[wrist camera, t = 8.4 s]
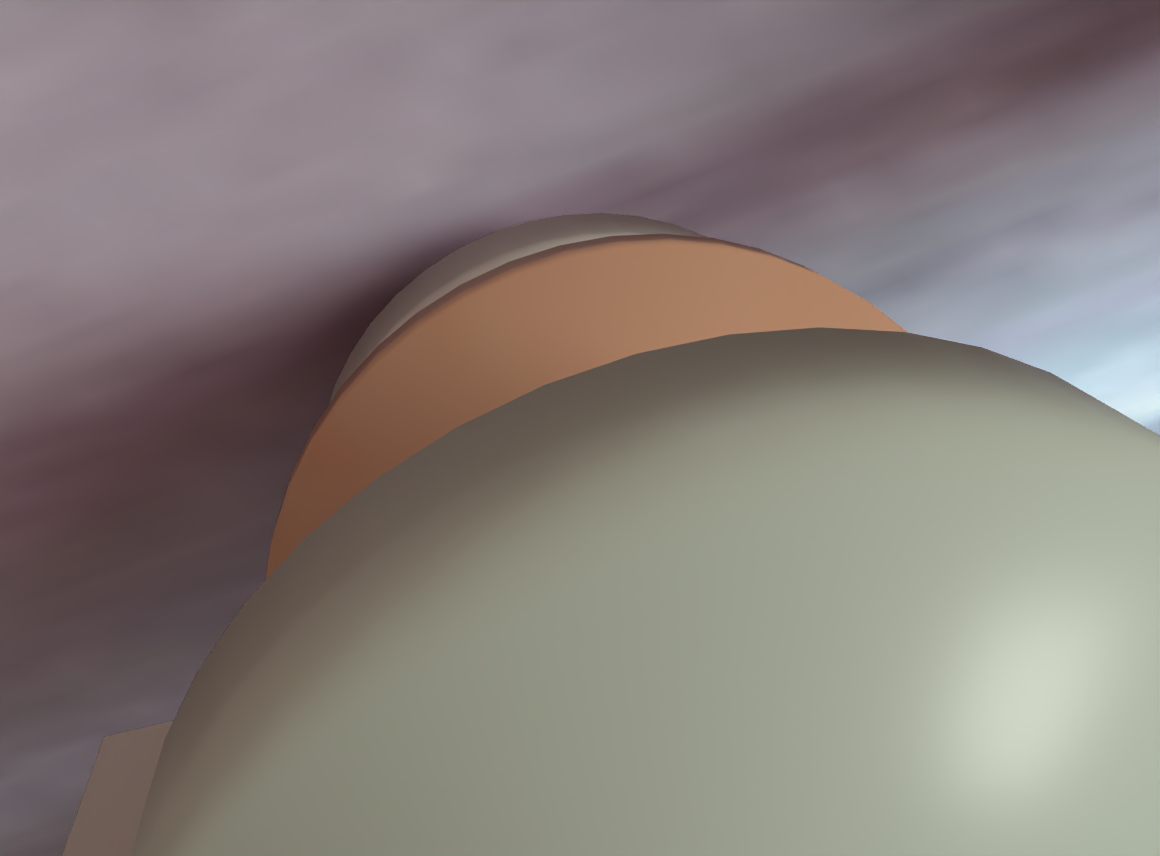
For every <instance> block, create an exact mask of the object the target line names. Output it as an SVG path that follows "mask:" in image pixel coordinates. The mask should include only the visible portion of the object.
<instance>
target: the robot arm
mask: <svg viewBox="0 0 1160 856" xmlns="http://www.w3.org/2000/svg"><path fill="white" fill-rule="evenodd" d="M173 721H174V720H173ZM173 721H169V722H165V723H160V724H156V725H152V726H147V727H143V728H139V729H134V730H130V731H126V732H122V733H117V734H113V735H109V736H104V738H103V741H102V743H101V746H100V749H99V752H98V755H97V758H96V761H95V764H94V766H93V769H92V772H91V775H90V778H89V781H88V784H87V786H86V789H85V792H84V795H83V798H82V801H81V804H80V806H79V809H78V812H77V815H76V818H75V821H74V824H73V827H72V829H71V832H70V835H69V838H68V841H67V844H66V847H65V849H64V852H63V855H62V856H131V855H132V851H133V848H134V844H135V840H136V836H137V833H138V829H139V825H140V822H141V818H142V814H143V810H144V807H145V803H146V800H147V797H148V793H149V790H150V787H151V783H152V780H153V776H154V773H155V770H156V766H157V763H158V760H159V756H160V753H161V749H162V746H163V743H164V739H165V737H166V735H167V733H168V731H169V729H170V727H171V725H172V723H173Z"/></svg>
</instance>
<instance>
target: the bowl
mask: <svg viewBox="0 0 1160 856" xmlns="http://www.w3.org/2000/svg"><path fill="white" fill-rule="evenodd" d="M817 327H823V328H841V329H859V330H877V331H895V332H906V331H905V330H904V329H903V328H901V327H900V326H899V325H898V324H896V323H895V322H894V321H893V320H891V319H890V318H889V317H887V316H886V315H885V314H884V313H882V312H881V311H880V310H879V309H877V308H876V307H875V306H874V305H872V304H871V303H870V302H868V301H866V300H864V299H863V298H861V297H859V296H857V295H856V294H854V293H852V292H850V291H849V290H847V289H845V288H843V287H841V286H840V285H838V284H836V283H834V282H833V281H831V280H829V279H827V278H825V277H824V276H822V275H820V274H818V273H816V272H814V271H812V270H810V269H808V268H806V267H805V266H802V265H800V264H797V263H795V262H792V261H790V260H787V259H784V258H782V257H779V256H777V255H774V254H771V253H769V252H766V251H764V250H761V249H758V248H754V247H749V246H745V245H741V244H736V243H732V242H728V241H723V240H719V239H715V238H708V237H706V236H703V235H700V234H698V233H695V232H693V231H690V230H687V229H685V228H682V227H680V226H677V225H674V224H670V223H666V222H661V221H657V220H653V219H648V218H644V217H640V216H629V215H618V214H607V213H595V214H572V215H562V216H556V217H550V218H545V219H539V220H534V221H528V222H525V223H522V224H519V225H516V226H513V227H509V228H506V229H503V230H500V231H497V232H494V233H491V234H489V235H487V236H485V237H483V238H480V239H478V240H476V241H474V242H472V243H470V244H468V245H466V246H464V247H461V248H459V249H457V250H456V251H454V252H452V253H451V254H449V255H448V256H446V257H445V258H443V259H442V260H440V261H439V262H437V263H435V264H434V265H432V266H431V267H429V268H428V269H426V270H425V271H424V272H422V273H421V274H420V275H419V276H418V277H416V278H415V279H414V280H413V281H412V282H411V283H409V284H408V285H407V286H406V287H405V288H404V289H402V290H401V291H400V292H399V293H398V294H397V295H396V296H395V297H394V298H393V299H392V300H391V301H390V302H389V303H388V305H387V306H386V307H385V308H384V309H383V310H382V311H381V312H380V313H379V315H378V316H377V317H376V318H375V319H374V320H373V321H372V322H371V324H370V325H369V327H368V328H367V330H366V331H365V333H364V334H363V336H362V337H361V339H360V340H359V342H358V343H357V344H356V346H355V347H354V349H353V350H352V352H351V353H350V355H349V358H348V360H347V362H346V364H345V366H344V368H343V370H342V372H341V374H340V376H339V378H338V380H337V382H336V384H335V386H334V390H333V393H332V396H331V399H330V402H329V405H328V407H327V408H326V410H325V411H324V413H323V414H322V415H321V417H320V418H319V420H318V421H317V423H316V424H315V426H314V428H313V430H312V432H311V434H310V436H309V438H308V440H307V442H306V444H305V446H304V448H303V450H302V452H301V454H300V456H299V458H298V460H297V462H296V464H295V467H294V469H293V471H292V474H291V477H290V481H289V484H288V487H287V490H286V493H285V496H284V499H283V502H282V506H281V509H280V512H279V515H278V519H277V523H276V526H275V530H274V534H273V538H272V542H271V547H270V553H269V559H268V565H267V571H266V578H265V580H266V579H267V578H268V577H269V576H270V575H271V574H272V573H273V572H274V571H275V570H276V569H277V567H278V566H279V565H280V564H281V563H282V562H283V561H284V560H285V559H286V558H287V557H288V556H289V554H290V553H291V552H292V551H293V550H294V549H295V548H296V547H297V546H298V545H299V544H300V543H301V542H302V540H303V539H304V538H305V537H306V536H308V535H309V534H310V533H311V532H313V531H314V530H315V529H316V528H317V527H319V526H320V525H321V524H322V523H323V522H325V521H326V520H327V519H328V518H329V517H331V516H332V515H333V514H334V513H335V512H337V511H338V510H339V509H340V508H341V507H343V506H344V505H345V504H346V503H347V502H349V501H350V500H351V499H352V498H353V497H355V496H356V495H357V494H358V493H359V492H361V491H362V490H363V489H364V488H365V487H367V486H368V485H369V484H370V483H372V482H373V481H374V480H375V479H376V478H378V477H379V476H381V475H383V474H384V473H386V472H387V471H389V470H390V469H392V468H394V467H395V466H397V465H398V464H400V463H401V462H403V461H404V460H406V459H408V458H409V457H411V456H412V455H414V454H415V453H417V452H419V451H420V450H422V449H423V448H425V447H426V446H428V445H430V444H431V443H433V442H434V441H436V440H437V439H439V438H441V437H442V436H444V435H445V434H447V433H448V432H450V431H451V430H453V429H455V428H456V427H458V426H460V425H462V424H464V423H466V422H468V421H470V420H472V419H475V418H477V417H479V416H481V415H483V414H485V413H487V412H489V411H491V410H493V409H495V408H498V407H500V406H502V405H504V404H506V403H508V402H510V401H512V400H514V399H516V398H518V397H520V396H523V395H525V394H527V393H529V392H531V391H533V390H535V389H537V388H539V387H541V386H543V385H546V384H549V383H552V382H555V381H557V380H560V379H563V378H566V377H569V376H572V375H575V374H578V373H581V372H584V371H587V370H590V369H593V368H596V367H599V366H602V365H605V364H608V363H611V362H614V361H616V360H619V359H622V358H625V357H628V356H631V355H634V354H637V353H642V352H647V351H652V350H657V349H661V348H666V347H671V346H676V345H681V344H685V343H690V342H695V341H700V340H705V339H709V338H714V337H719V336H724V335H729V334H741V333H753V332H766V331H779V330H792V329H804V328H817Z"/></svg>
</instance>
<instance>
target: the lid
mask: <svg viewBox="0 0 1160 856" xmlns="http://www.w3.org/2000/svg"><path fill="white" fill-rule="evenodd" d="M131 856H1160V435H1158V434H1156V433H1154V432H1153V431H1151V430H1149V429H1147V428H1146V427H1144V426H1142V425H1141V424H1139V423H1137V422H1135V421H1134V420H1132V419H1130V418H1128V417H1127V416H1125V415H1123V414H1122V413H1120V412H1118V411H1116V410H1115V409H1113V408H1111V407H1109V406H1108V405H1106V404H1104V403H1102V402H1101V401H1099V400H1097V399H1096V398H1094V397H1092V396H1090V395H1089V394H1087V393H1085V392H1083V391H1082V390H1080V389H1078V388H1076V387H1075V386H1073V385H1071V384H1069V383H1068V382H1066V381H1064V380H1062V379H1061V378H1059V377H1057V376H1055V375H1054V374H1052V373H1050V372H1047V371H1044V370H1042V369H1039V368H1036V367H1033V366H1031V365H1028V364H1025V363H1023V362H1020V361H1017V360H1014V359H1012V358H1009V357H1006V356H1004V355H1001V354H998V353H995V352H993V351H990V350H987V349H985V348H982V347H977V346H972V345H967V344H962V343H957V342H952V341H947V340H942V339H937V338H932V337H927V336H922V335H917V334H912V333H907V332H895V331H877V330H859V329H841V328H823V327H817V328H804V329H792V330H779V331H766V332H753V333H741V334H729V335H724V336H719V337H714V338H709V339H705V340H700V341H695V342H690V343H685V344H681V345H676V346H671V347H666V348H661V349H657V350H652V351H647V352H642V353H637V354H634V355H631V356H628V357H625V358H622V359H619V360H616V361H614V362H611V363H608V364H605V365H602V366H599V367H596V368H593V369H590V370H587V371H584V372H581V373H578V374H575V375H572V376H569V377H566V378H563V379H560V380H557V381H555V382H552V383H549V384H546V385H543V386H541V387H539V388H537V389H535V390H533V391H531V392H529V393H527V394H525V395H523V396H520V397H518V398H516V399H514V400H512V401H510V402H508V403H506V404H504V405H502V406H500V407H498V408H495V409H493V410H491V411H489V412H487V413H485V414H483V415H481V416H479V417H477V418H475V419H472V420H470V421H468V422H466V423H464V424H462V425H460V426H458V427H456V428H455V429H453V430H451V431H450V432H448V433H447V434H445V435H444V436H442V437H441V438H439V439H437V440H436V441H434V442H433V443H431V444H430V445H428V446H426V447H425V448H423V449H422V450H420V451H419V452H417V453H415V454H414V455H412V456H411V457H409V458H408V459H406V460H404V461H403V462H401V463H400V464H398V465H397V466H395V467H394V468H392V469H390V470H389V471H387V472H386V473H384V474H383V475H381V476H379V477H378V478H376V479H375V480H374V481H373V482H372V483H370V484H369V485H368V486H367V487H365V488H364V489H363V490H362V491H361V492H359V493H358V494H357V495H356V496H355V497H353V498H352V499H351V500H350V501H349V502H347V503H346V504H345V505H344V506H343V507H341V508H340V509H339V510H338V511H337V512H335V513H334V514H333V515H332V516H331V517H329V518H328V519H327V520H326V521H325V522H323V523H322V524H321V525H320V526H319V527H317V528H316V529H315V530H314V531H313V532H311V533H310V534H309V535H308V536H306V537H305V538H304V539H303V540H302V542H301V543H300V544H299V545H298V546H297V547H296V548H295V549H294V550H293V551H292V552H291V553H290V554H289V556H288V557H287V558H286V559H285V560H284V561H283V562H282V563H281V564H280V565H279V566H278V567H277V569H276V570H275V571H274V572H273V573H272V574H271V575H270V576H269V577H268V578H267V579H266V580H265V582H264V583H263V584H262V585H261V586H260V587H259V588H258V589H257V590H256V591H255V592H254V593H253V595H252V596H251V597H250V598H249V599H248V600H247V601H246V602H245V603H244V605H243V606H242V608H241V609H240V611H239V612H238V613H237V615H236V616H235V618H234V619H233V621H232V622H231V624H230V625H229V626H228V628H227V629H226V631H225V632H224V634H223V635H222V637H221V638H220V639H219V641H218V642H217V644H216V645H215V647H214V648H213V650H212V651H211V652H210V654H209V655H208V657H207V658H206V660H205V661H204V663H203V664H202V665H201V667H200V668H199V670H198V672H197V674H196V676H195V678H194V680H193V682H192V684H191V686H190V688H189V690H188V692H187V694H186V696H185V698H184V700H183V702H182V704H181V706H180V709H179V711H178V713H177V715H176V717H175V719H174V721H173V723H172V725H171V727H170V729H169V731H168V733H167V735H166V737H165V739H164V743H163V746H162V749H161V753H160V756H159V760H158V763H157V766H156V770H155V773H154V776H153V780H152V783H151V787H150V790H149V793H148V797H147V800H146V803H145V807H144V810H143V814H142V818H141V822H140V825H139V829H138V833H137V836H136V840H135V844H134V848H133V851H132V855H131Z"/></svg>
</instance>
